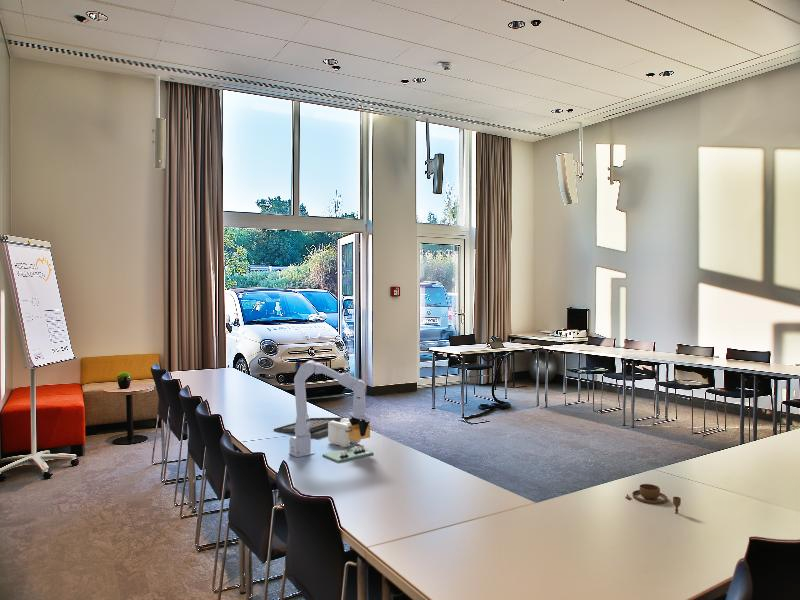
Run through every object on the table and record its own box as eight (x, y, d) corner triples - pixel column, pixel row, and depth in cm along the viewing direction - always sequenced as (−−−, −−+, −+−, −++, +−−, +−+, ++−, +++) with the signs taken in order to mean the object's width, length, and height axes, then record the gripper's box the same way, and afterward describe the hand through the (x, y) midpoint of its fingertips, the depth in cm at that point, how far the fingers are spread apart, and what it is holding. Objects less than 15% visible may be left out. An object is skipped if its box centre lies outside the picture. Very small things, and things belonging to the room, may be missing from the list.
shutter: (275, 441, 311) (318, 442, 295) (273, 429, 311) (316, 428, 295) (312, 426, 338) (354, 426, 322) (311, 415, 338) (353, 414, 322)
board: (338, 462, 253) (338, 460, 253) (322, 456, 263) (322, 453, 263) (373, 454, 266) (373, 452, 266) (357, 448, 276) (357, 446, 276)
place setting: (673, 496, 213) (673, 481, 213) (683, 517, 194) (683, 499, 193) (623, 492, 218) (623, 477, 218) (628, 511, 198) (629, 494, 198)
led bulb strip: (355, 453, 264) (355, 447, 264) (353, 453, 265) (353, 446, 265) (365, 451, 267) (365, 445, 267) (363, 450, 268) (363, 444, 268)
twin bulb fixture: (341, 458, 256) (341, 451, 256) (339, 457, 257) (339, 451, 257) (348, 456, 259) (348, 450, 259) (347, 456, 260) (347, 449, 260)
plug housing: (349, 442, 259) (349, 429, 259) (343, 439, 263) (342, 427, 263) (370, 437, 267) (370, 424, 267) (363, 435, 271) (363, 422, 271)
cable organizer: (362, 444, 283) (362, 421, 283) (346, 448, 276) (346, 425, 276) (342, 439, 294) (342, 417, 293) (326, 443, 286) (326, 420, 286)
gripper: (375, 407, 263) (375, 436, 263) (357, 402, 274) (357, 430, 274) (363, 409, 258) (363, 438, 258) (345, 404, 269) (345, 432, 270)
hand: (359, 434), depth 266 cm, fingers closed on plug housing, 5 cm apart
